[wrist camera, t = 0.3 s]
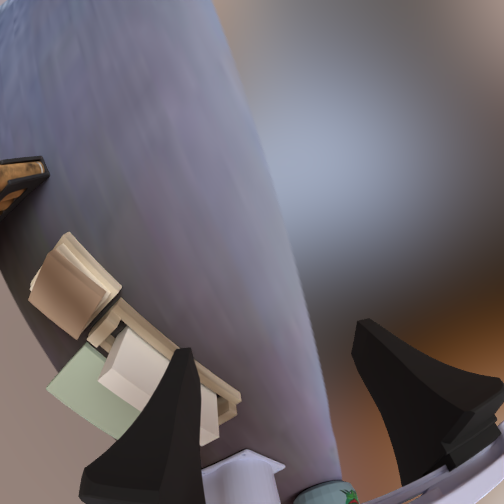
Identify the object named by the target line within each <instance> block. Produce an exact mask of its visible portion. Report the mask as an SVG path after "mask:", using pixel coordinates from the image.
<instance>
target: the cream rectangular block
mask: <svg viewBox="0 0 504 504" xmlns="http://www.w3.org/2000/svg"><path fill="white" fill-rule="evenodd" d="M169 362H170V360H169V359H168V358H167V357H165V356H164V355H163V354H162V353H160V352H159V351H158V350H157V349H155V348H154V347H153V346H152V345H150V344H149V343H148V342H147V341H145V340H144V339H143V338H142V337H141V336H139V335H138V334H137V333H136V332H135V331H134V330H132V329H131V328H130V327H129V326H128V325H127V326H126V327H125V328H124V329H123V330H122V331H121V332H120V333H119V334H118V335H117V337H116V339H115V341H114V343H113V346H112V348H111V350H110V352H109V355H108V357H107V359H106V362H105V364H104V366H103V369H102V371H101V373H100V376H99V378H98V380H97V381H98V382H99V383H101V384H102V385H103V386H105V387H106V388H107V389H109V390H110V391H112V392H113V393H114V394H116V395H117V396H119V397H120V398H121V399H123V400H124V401H126V402H127V403H129V404H130V405H132V406H133V407H135V408H136V409H138V410H139V411H141V412H142V410H143V409H144V407H145V406H146V404H147V403H148V401H149V399H150V398H151V396H152V395H153V393H154V391H155V390H156V388H157V386H158V384H159V382H160V380H161V379H162V377H163V375H164V373H165V371H166V369H167V367H168V365H169ZM200 384H201V422H200V445H201V446H203V445H205V444H207V443H209V442H211V441H213V440H215V439H217V438H219V426H218V411H217V395H216V393H215V392H214V391H212V390H211V389H209V388H208V387H206V386H205V385H204V384H202V383H201V382H200Z"/></svg>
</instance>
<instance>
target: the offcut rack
mask: <svg viewBox="0 0 504 504" xmlns="http://www.w3.org/2000/svg"><path fill="white" fill-rule="evenodd" d="M30 285H31V288H30V290H31V294H30V296H29V299H28V300H29V301H30V302H31V303H32V304H33V305H34V306H35V307H36V308H38V309H39V310H40V311H41V312H42V313H43V314H45V315H46V316H47V317H48V318H49V319H51V320H52V321H53V322H54V323H56V324H57V325H58V326H59V327H61V328H62V329H63V330H64V331H66V332H67V333H68V334H70V335H71V336H72V337H74V338H75V339H76V340H77V339H78V337H79V336H80V334H81V333H82V332H83V330H84V329H85V328H86V327H87V326H88V325H89V324H90V323H91V321H92V320H93V319H94V318H95V317H96V316H97V315H98V314H99V313H100V312H101V311H102V309H103V308H104V307H105V306H106V305H107V304H108V303H109V302H110V301H111V300H112V299H113V298H114V297H115V296H116V294H117V293H118V292H119V291H120V289H121V288H122V286H121V285H120V284H119V283H118V282H117V281H116V280H115V279H114V278H113V277H112V276H111V275H110V274H109V273H108V272H107V271H106V270H105V269H104V268H103V267H102V266H101V265H100V264H99V263H98V262H97V261H96V260H95V259H94V258H93V257H92V256H91V255H90V254H89V253H88V252H87V250H86V249H85V248H84V247H83V246H82V245H81V244H80V243H79V242H78V241H77V240H76V239H75V237H74V236H73V235H72V234H71V233H70V232H67V233H66V234H64V235H63V236H62V237H61V239H60V240H59V242H58V243H57V244H56V246H55V247H54V249H53V250H52V251H50V252H49V253H48V254H47V256H46V259H45V261H44V263H43V265H42V266H41V268H40V270H39V271H38V273H37V274H36V276H35V277H34V279H33V281H32V282H31V284H30ZM120 320H122V321H123V322H124V323H125V324H127V325H128V326H129V327H130V328H131V329H132V330H134V331H135V332H136V333H137V334H138V335H139V336H141V337H142V338H143V339H144V340H145V341H147V342H148V343H149V344H150V345H152V346H153V347H154V348H155V349H157V350H158V351H159V352H160V353H162V354H163V355H164V356H165V357H167V358H168V359H169V360H171V358H172V356H173V353H174V351H175V350H176V349H180V348H179V347H178V346H176V345H175V344H174V343H173V342H172V341H170V340H169V339H168V338H167V337H165V336H164V335H163V334H162V333H161V332H159V331H158V330H157V329H156V328H155V327H154V326H152V325H151V324H150V323H149V322H148V321H147V320H146V319H144V318H143V317H142V316H141V315H140V314H139V313H138V312H137V311H135V310H134V309H133V308H132V307H131V306H130V305H129V304H128V303H127V302H126V301H124V300H123V299H122V298H120V299H119V300H118V301H117V302H116V303H115V304H114V305H113V306H112V307H111V308H110V309H109V310H108V311H107V312H106V313H105V314H104V316H103V317H102V318H101V319H100V320H99V321H98V322H97V323H96V324H95V325H94V326H93V327H92V329H91V331H90V332H89V334H88V338H87V340H88V341H89V342H90V343H91V344H93V345H94V346H95V347H96V348H97V347H98V346H99V345H100V346H101V347H102V348H103V349H105V350H106V351H107V352H108V353H109V352H110V350H111V348H112V346H113V343H114V341H115V338H114V337H113V336H112V335H111V333H112V332H113V331H114V330H115V329H116V328H117V326H118V324H119V322H120ZM194 361H195V364H196V367H197V371H198V374H199V377H200V382H201V383H202V384H204V385H205V386H206V387H208V388H209V389H211V390H212V391H214V392H215V393H217V394H218V395H220V397H218V398H217V411H218V426H219V425H221V424H223V423H224V422H226V421H228V420H229V419H231V418H233V417H235V416H236V415H237V410H236V404H238V403H240V402H241V395H240V392H239V391H237V390H236V389H234V388H233V387H231V386H230V385H228V384H227V383H226V382H224V381H223V380H221V379H220V378H219V377H217V376H216V375H214V374H213V373H212V372H210V371H209V370H208V369H206V368H205V367H204V366H202V365H201V364H200V363H198V362H197V361H196V360H194Z"/></svg>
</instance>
